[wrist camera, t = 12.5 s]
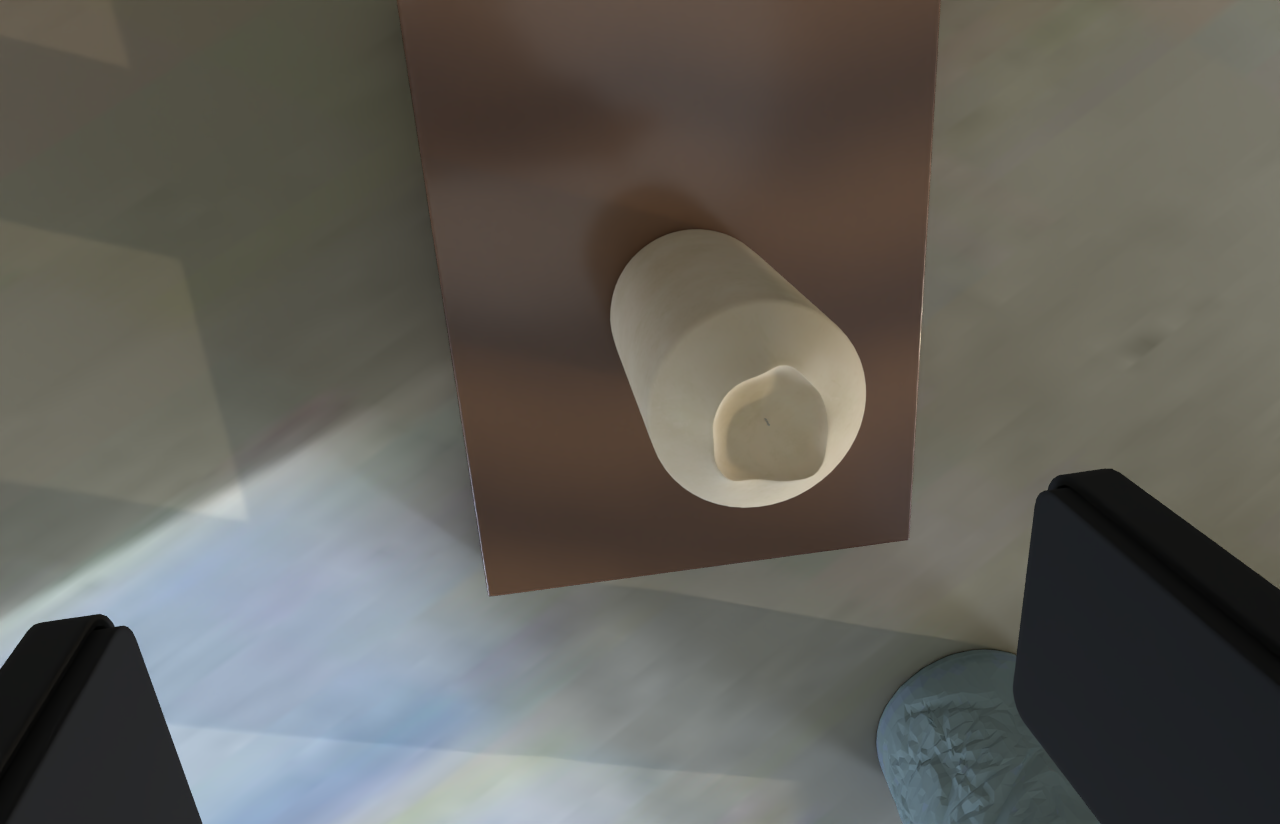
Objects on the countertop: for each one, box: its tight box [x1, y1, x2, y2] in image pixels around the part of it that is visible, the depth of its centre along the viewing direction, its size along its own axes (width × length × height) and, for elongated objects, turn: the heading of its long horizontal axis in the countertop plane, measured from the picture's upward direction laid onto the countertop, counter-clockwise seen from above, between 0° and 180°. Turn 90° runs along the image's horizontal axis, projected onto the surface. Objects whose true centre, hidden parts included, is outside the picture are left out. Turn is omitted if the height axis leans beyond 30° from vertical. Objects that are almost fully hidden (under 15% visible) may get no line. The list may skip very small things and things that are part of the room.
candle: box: [610, 229, 866, 508], centre depth 26 cm, size 6×6×10 cm
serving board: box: [397, 0, 941, 596], centre depth 32 cm, size 20×16×2 cm
